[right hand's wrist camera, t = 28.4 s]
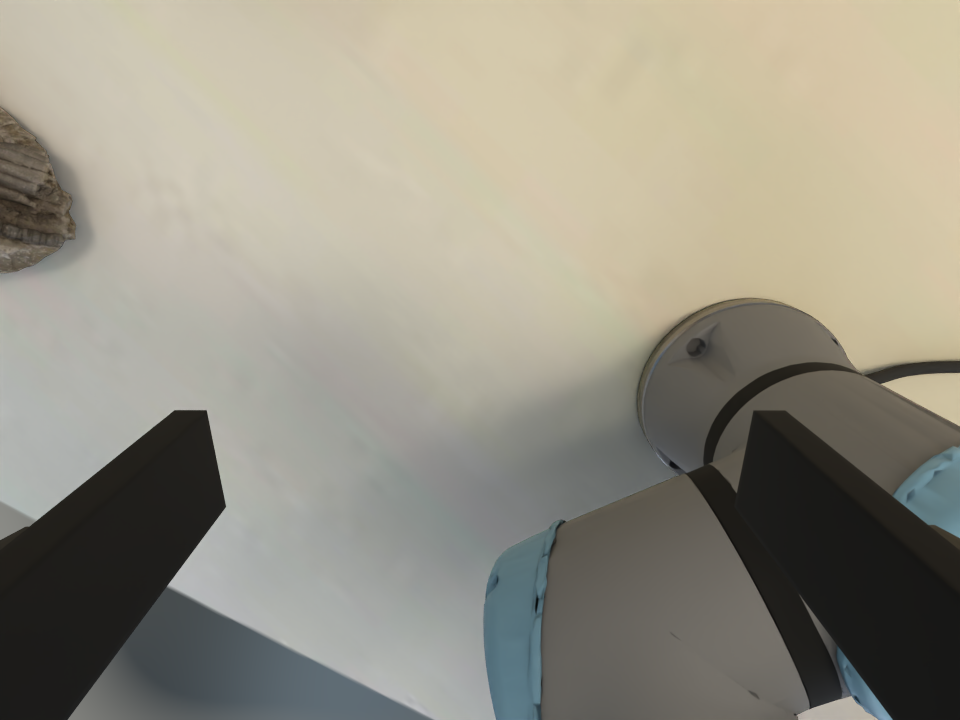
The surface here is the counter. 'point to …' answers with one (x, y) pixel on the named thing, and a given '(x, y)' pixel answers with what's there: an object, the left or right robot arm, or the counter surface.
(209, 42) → the counter surface
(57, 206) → the fossil
